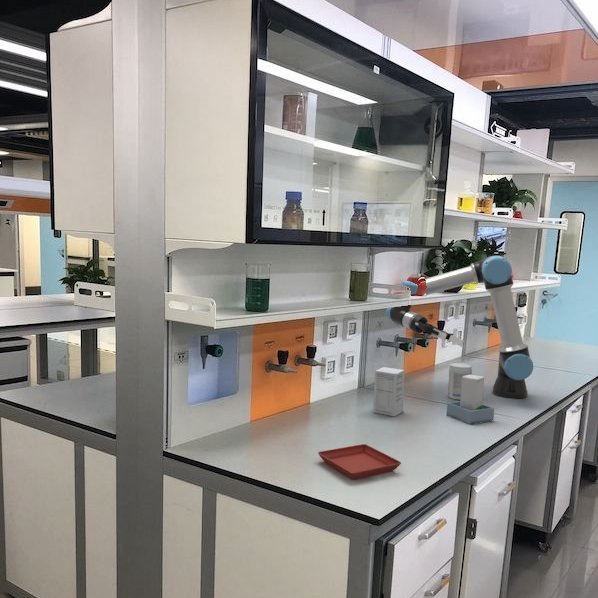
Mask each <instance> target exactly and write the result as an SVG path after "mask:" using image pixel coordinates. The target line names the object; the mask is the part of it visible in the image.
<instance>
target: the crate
mask: <svg viewBox="0 0 598 598" xmlns="http://www.w3.org/2000/svg"><path fill="white" fill-rule="evenodd" d="M494 415H495V408H494V407H492V406H490V405H486V404H483V405H482V409H480V410H473V411H470V410H467V409H465V408H462V407H460V400H458V401H452V402H447V404H446V416H447V417H449V416H450V417H449V418H452V419H454V420H458V421H461V422H463V423H465V424H468V425H476V424H475V423H477V424H481V423H480V422H483V423H487V422H486V421H489V422H493V421H494ZM492 420H493V421H492Z"/></svg>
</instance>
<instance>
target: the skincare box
mask: <svg viewBox="0 0 598 598" xmlns="http://www.w3.org/2000/svg"><path fill="white" fill-rule="evenodd" d="M484 384H485V376H482V375H476V374H475V375H474V374H472V375H465V376H463V377H462V384H461V400H459V401H460V407H462V408H465V409H467V410H470V411H473V410H480V409H482V405H483V402H484V401H483V400H484V389H485V387H484V386H485V385H484Z"/></svg>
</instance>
